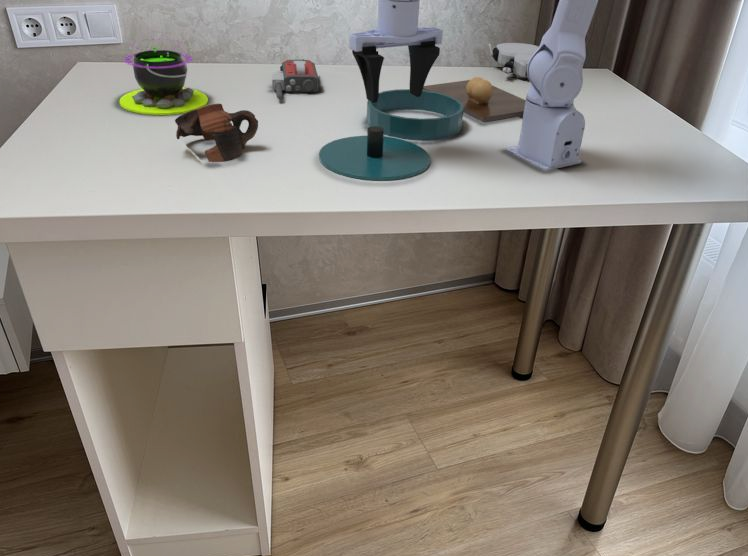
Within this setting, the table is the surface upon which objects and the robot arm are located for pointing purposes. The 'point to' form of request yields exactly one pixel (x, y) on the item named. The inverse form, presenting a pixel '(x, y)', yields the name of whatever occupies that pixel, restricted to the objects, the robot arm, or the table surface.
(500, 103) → the board
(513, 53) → the robot toy
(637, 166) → the table surface
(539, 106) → the robot arm
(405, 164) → the teal disc
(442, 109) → the teal bowl
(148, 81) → the toy cauldron
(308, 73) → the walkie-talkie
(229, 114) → the broken mug
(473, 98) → the potato
